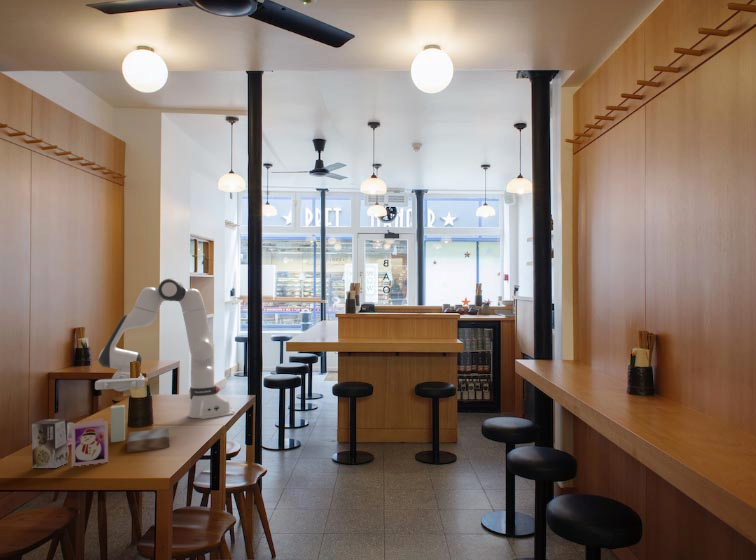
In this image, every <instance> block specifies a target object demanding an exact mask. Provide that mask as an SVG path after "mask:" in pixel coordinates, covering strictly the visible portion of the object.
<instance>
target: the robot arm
mask: <svg viewBox="0 0 756 560" xmlns="http://www.w3.org/2000/svg"><path fill="white" fill-rule="evenodd" d="M165 301H166V302H178V303H179V304H180V308H181V312H182V315H183V321H184V325H185V326H184V327H185V331H186V336H187V343H188V347H189V352H190V387H189V388H190V389H189V399H190V402H189V410H188V413H187V417H188V418H192V419H202V420H204V419H205V420H206V419H211V418H213V419H214V418H219V417H225V416H232V415H234V414H235V412H236V411H235V409H234V408H233V407H231V403H230V401H229V399H228V398H226V396H224V395H222V394H221V393H219V392H220V390H221V389H220V387H219V386H217V385H215V348H214V347H215V345H214V342H213V341H214V340H213V338H212V333H211V329H210V323H209V322H210V321H209V319H208V313H207V310H206V304H205V301H204V299H203V295H202V294H201V291H200V290H198V289H197V288H193V287H192V288H186V287H184V284H182V282H181V281H180V280H178V279H176V278H166V279H163V280H162V281H161V282H160V283H159V285H158V287H153V286H149V287H148V286H146V287H144V288H142V290H141V291H140V293H139V295H138V296H137V299H136V301H135V303H134V306H133V309H132V310H131V312H130V313H128V314H125V315H123V316H122V317H121V319H120V321H119V322H118V324H117V325H116V327H115V329H114V331H113V333H112V334H111V335H110V338H109V339H108V342H107V343H106V345H105V346H104V347H103V348H102V349H101V351H100V353H99V355H98V363H99V364H100V365H101V367H102V368H108V369H115V370H117V371H115V372H114V374H113V375H112V377H111V378H104V379H97V380H96V381H95V383H94V389H95V390H96V391H99V390H112V389H113V390H114V391H117V392H125V391H128V390H131V387H139V388H142V387H143V388H144V387H145V386H146V384H145V383H146V379H145V376H144V375H143V373H140V372H139V373H140V376H139V377H138V378H130V362H133V361H139V362H140V366H141V364H142V356H141V354H140V353H139V352H137V351H133V350H128V349H123V348H119V347H117V345H118V343H119V341H120V339H121V337H122V336H123V333H124V332H125V331H127V330H129V329H135V328H137V329H138V328H139V329H140V328H145V327H149V326H150V325H152V324H153V323H154V322H155V320H156V318H157V317H158V316H157V315H158V313H159V310H160V308H161V305H162V303H163V302H165Z"/></svg>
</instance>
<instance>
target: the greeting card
mask: <svg viewBox="0 0 756 560" xmlns="http://www.w3.org/2000/svg"><path fill="white" fill-rule="evenodd" d="M105 462H108V463H109V421H108V420H104V417H101V418H96V419H91V420H87V421H83V422H78V423H75V424H73V425H72V444H71V468H74V467H73V466H79V467H82V466H81V465H86V466H90V465H89V464H94V465H99V464H98V463H101V464H106V463H105Z"/></svg>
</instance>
